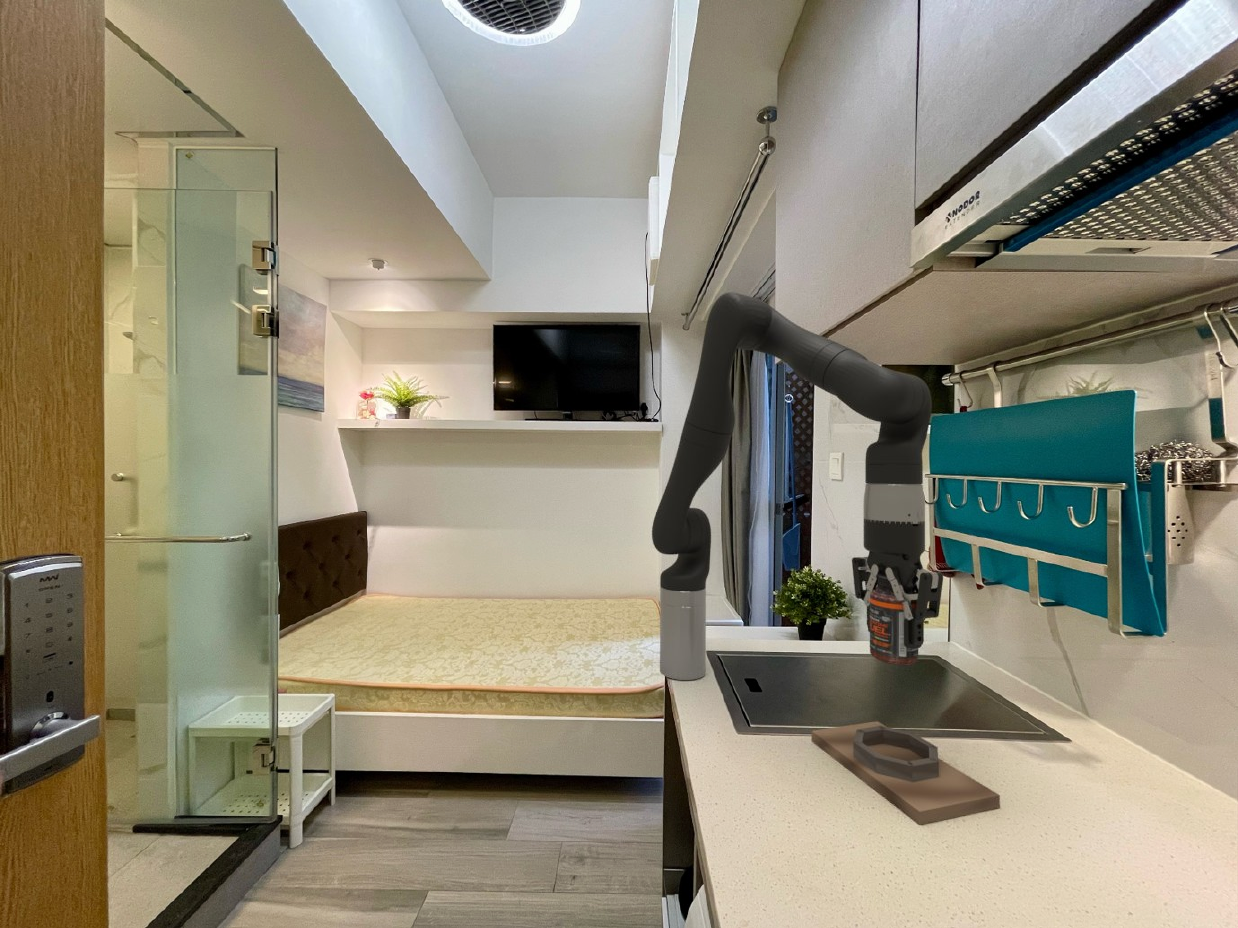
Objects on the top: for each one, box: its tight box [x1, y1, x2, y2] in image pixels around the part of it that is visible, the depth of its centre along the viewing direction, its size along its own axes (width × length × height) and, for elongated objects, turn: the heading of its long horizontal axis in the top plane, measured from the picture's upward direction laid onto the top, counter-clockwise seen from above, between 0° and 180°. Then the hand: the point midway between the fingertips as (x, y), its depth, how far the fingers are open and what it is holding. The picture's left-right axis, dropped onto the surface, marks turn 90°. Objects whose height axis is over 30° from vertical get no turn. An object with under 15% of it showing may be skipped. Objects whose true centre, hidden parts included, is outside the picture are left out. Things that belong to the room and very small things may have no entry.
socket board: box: [811, 720, 1001, 826], centre depth 72 cm, size 20×12×4 cm, turn 16°
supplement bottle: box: [869, 575, 919, 666], centre depth 73 cm, size 6×6×11 cm
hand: (893, 639), depth 73 cm, fingers closed on supplement bottle, 6 cm apart
